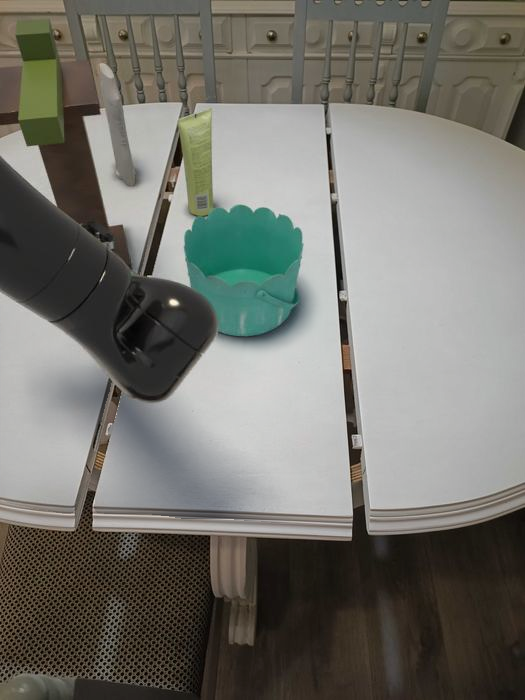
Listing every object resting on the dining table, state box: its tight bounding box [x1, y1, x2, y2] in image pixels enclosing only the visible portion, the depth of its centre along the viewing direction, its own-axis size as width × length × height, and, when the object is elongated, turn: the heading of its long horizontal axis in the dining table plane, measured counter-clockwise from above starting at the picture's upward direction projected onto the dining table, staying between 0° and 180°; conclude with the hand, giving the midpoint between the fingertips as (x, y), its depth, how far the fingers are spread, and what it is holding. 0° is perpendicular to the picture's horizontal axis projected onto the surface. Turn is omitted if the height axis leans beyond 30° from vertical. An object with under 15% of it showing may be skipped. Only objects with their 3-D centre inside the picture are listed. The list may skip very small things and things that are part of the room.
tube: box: [177, 107, 214, 217], centre depth 100 cm, size 6×5×20 cm
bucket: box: [183, 204, 305, 337], centre depth 85 cm, size 19×18×13 cm
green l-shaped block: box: [14, 18, 64, 147], centre depth 63 cm, size 4×21×6 cm, turn 15°
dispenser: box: [99, 62, 137, 187], centre depth 107 cm, size 11×4×22 cm, turn 25°
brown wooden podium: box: [0, 59, 133, 271], centre depth 83 cm, size 12×19×32 cm, turn 17°
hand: (26, 228), depth 66 cm, fingers open, 8 cm apart
